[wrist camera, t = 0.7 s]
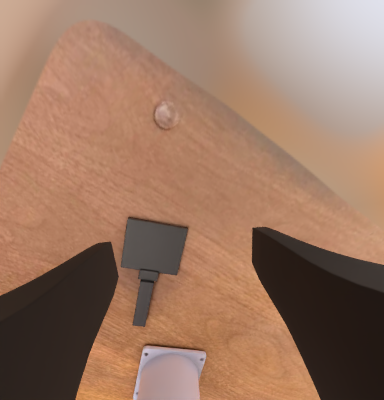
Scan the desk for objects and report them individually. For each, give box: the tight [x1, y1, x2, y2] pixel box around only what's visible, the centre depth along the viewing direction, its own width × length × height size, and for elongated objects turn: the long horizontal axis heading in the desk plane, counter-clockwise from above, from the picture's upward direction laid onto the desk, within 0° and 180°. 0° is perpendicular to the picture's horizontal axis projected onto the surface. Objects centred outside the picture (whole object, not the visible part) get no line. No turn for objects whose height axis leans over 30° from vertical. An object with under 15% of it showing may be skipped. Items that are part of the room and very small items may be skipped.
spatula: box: [121, 217, 188, 327], centre depth 22 cm, size 13×6×1 cm, turn 167°
